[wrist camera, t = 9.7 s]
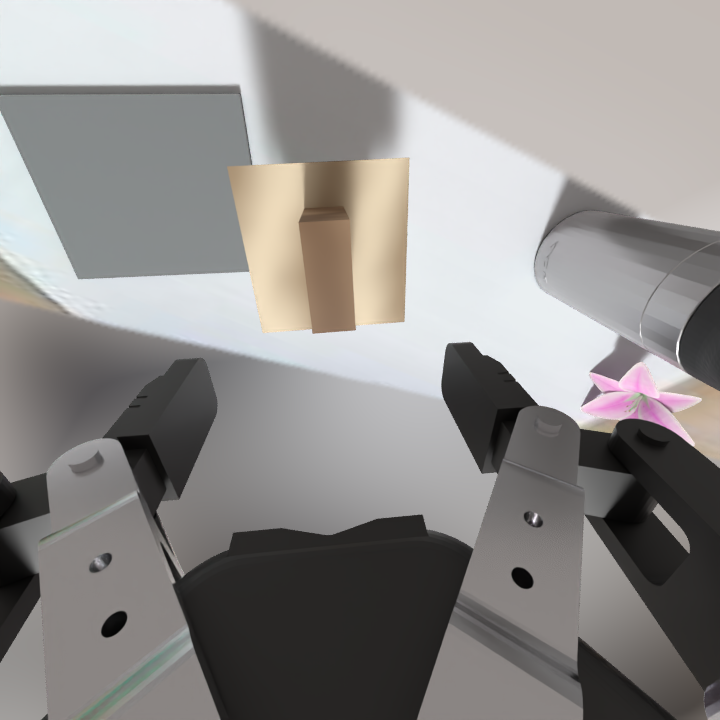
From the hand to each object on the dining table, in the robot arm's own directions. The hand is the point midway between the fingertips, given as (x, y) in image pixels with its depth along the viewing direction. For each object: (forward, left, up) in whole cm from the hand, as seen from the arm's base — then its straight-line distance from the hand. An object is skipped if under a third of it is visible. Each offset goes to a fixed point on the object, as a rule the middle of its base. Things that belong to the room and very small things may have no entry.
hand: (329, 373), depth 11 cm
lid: (0, -1, -15) cm, 15 cm away
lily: (-38, +21, -25) cm, 50 cm away
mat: (+15, -4, -25) cm, 29 cm away
